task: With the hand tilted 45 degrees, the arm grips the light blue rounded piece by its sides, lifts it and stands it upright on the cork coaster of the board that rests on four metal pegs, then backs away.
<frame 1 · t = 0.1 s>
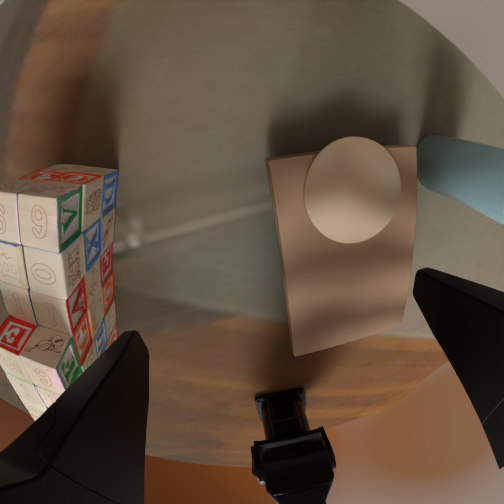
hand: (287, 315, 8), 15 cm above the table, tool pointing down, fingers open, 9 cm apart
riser: (342, 248, 24), on the table
stack of blocks: (86, 277, 23), on the table
light blue rounded piece: (434, 162, 21), on the table
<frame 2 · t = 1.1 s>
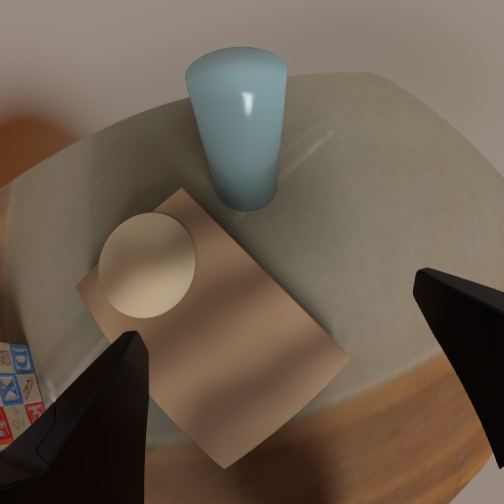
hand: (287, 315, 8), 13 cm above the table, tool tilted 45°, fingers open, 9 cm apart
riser: (204, 328, 21), on the table
stack of blocks: (43, 440, 17), on the table
light blue rounded piece: (246, 183, 24), on the table
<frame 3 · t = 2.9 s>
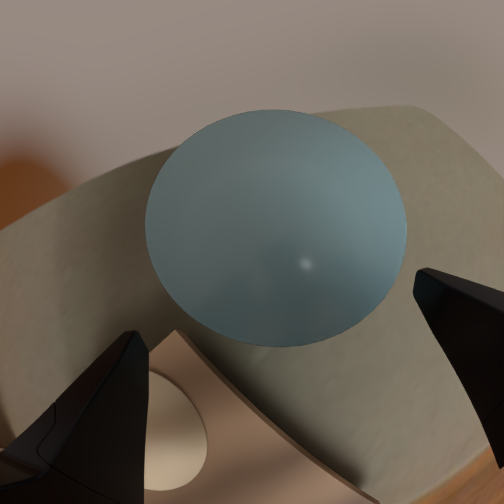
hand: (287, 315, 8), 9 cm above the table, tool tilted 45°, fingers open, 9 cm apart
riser: (220, 481, 13), on the table
light blue rounded piece: (267, 301, 17), on the table
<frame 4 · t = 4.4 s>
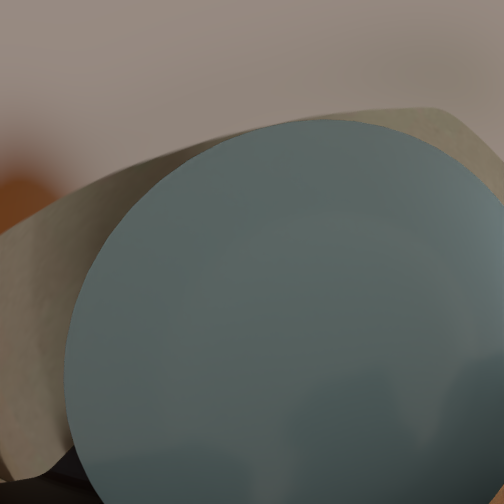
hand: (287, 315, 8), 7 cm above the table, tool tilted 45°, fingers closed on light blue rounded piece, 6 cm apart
light blue rounded piece: (281, 353, 14), on the table, touching gripper
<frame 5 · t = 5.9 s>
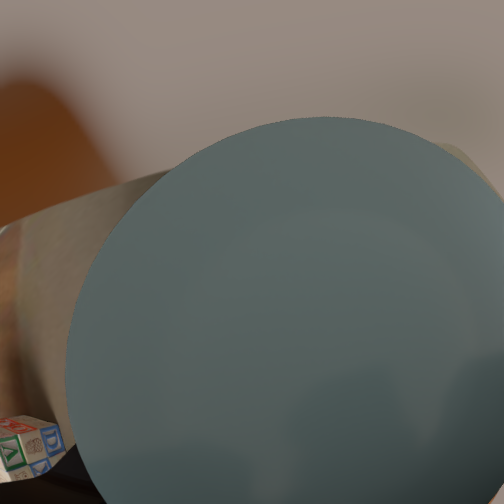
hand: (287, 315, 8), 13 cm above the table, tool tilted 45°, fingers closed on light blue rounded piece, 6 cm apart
stack of blocks: (68, 497, 14), on the table
light blue rounded piece: (281, 352, 14), point 6 cm above the table, touching gripper
when the fingers open (11 cm above the table, at t = 7.3 s): light blue rounded piece stays where it is, resting on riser.
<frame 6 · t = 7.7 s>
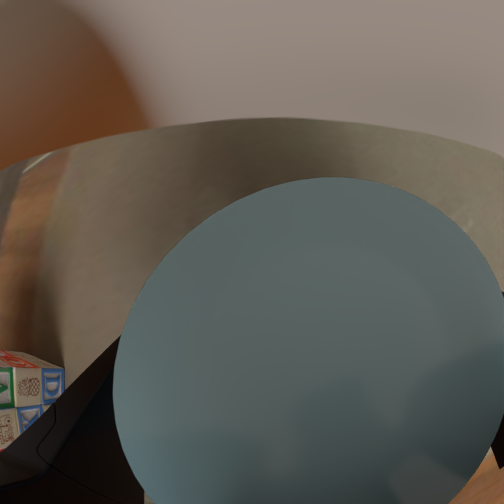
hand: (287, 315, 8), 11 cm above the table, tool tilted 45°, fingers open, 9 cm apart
stack of blocks: (51, 458, 14), on the table
light blue rounded piece: (280, 355, 14), point 3 cm above the table, touching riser
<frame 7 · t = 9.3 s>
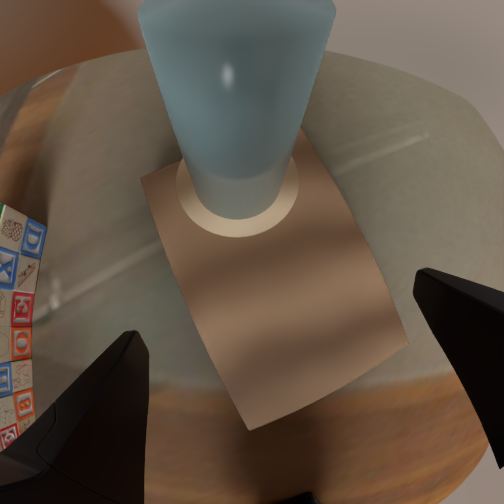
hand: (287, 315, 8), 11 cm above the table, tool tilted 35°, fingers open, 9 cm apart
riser: (272, 268, 19), on the table
stack of blocks: (14, 333, 17), on the table
light blue rounded piece: (237, 178, 17), point 3 cm above the table, touching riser
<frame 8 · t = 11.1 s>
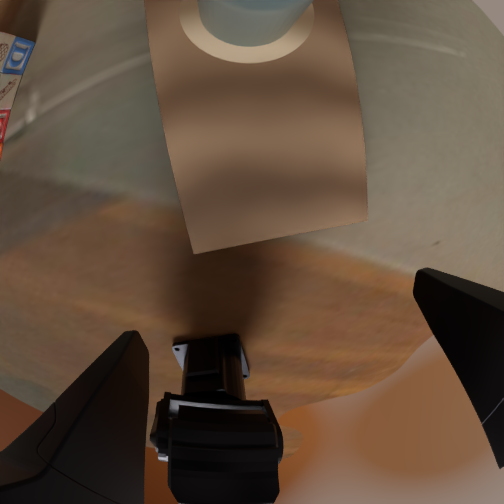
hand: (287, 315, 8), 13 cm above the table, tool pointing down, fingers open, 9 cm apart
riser: (257, 99, 16), on the table
light blue rounded piece: (247, 8, 11), point 3 cm above the table, touching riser
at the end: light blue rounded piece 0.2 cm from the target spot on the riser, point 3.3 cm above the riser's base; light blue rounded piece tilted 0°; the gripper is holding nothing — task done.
